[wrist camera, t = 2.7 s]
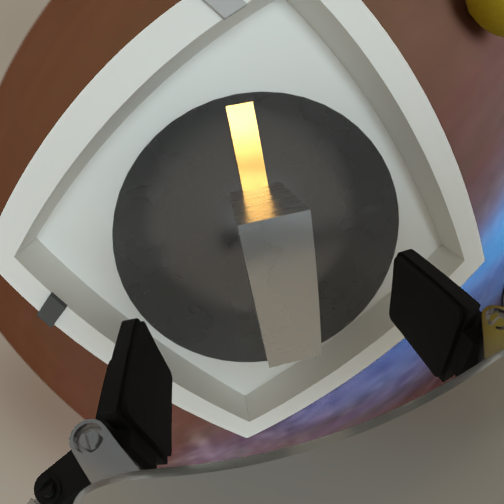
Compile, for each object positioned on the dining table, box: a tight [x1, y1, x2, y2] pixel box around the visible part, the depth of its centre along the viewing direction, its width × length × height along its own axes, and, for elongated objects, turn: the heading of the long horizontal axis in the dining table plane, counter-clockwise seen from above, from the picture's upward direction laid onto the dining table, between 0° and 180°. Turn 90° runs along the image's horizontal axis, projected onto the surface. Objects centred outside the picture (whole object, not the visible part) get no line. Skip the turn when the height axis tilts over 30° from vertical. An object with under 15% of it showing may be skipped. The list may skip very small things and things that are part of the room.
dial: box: [112, 92, 399, 368], centre depth 14 cm, size 16×16×6 cm
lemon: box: [466, 0, 504, 37], centre depth 9 cm, size 6×6×8 cm
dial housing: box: [0, 0, 485, 438], centre depth 16 cm, size 24×24×5 cm
